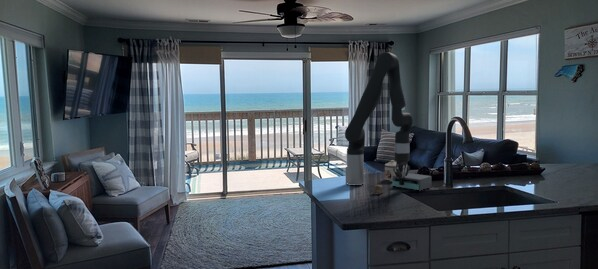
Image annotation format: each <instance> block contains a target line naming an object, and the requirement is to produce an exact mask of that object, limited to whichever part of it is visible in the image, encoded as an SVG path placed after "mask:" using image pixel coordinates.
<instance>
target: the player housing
mask: <svg viewBox="0 0 598 269" xmlns="http://www.w3.org/2000/svg"><path fill="white" fill-rule="evenodd" d="M404 179H405V180H413V181H418V184H419V191H418V192H422V191H424V190H423V189H425V190H428V189H430V187H431V188H433V187H432V175H425V174H418V173H417V174H416V173H410V172H408V174H407V176H405V178H404ZM393 181H399V178H398V177H396V175H395V176H393ZM427 188H428V189H427ZM407 190H409V188H408V189H407ZM421 190H422V191H421ZM413 191H416V189H414V190H413Z"/></svg>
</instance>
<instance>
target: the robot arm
mask: <svg viewBox="0 0 598 269" xmlns="http://www.w3.org/2000/svg"><path fill="white" fill-rule="evenodd" d="M399 60H400V59H399V57H397V55H396V54H394V53H392V52H388V51H383V52H381V53H379V55H378V57H377V59H376V61H375V64H374V68H373V70H372V72H371V75H370V78H369V80H368V81H367V84H366V87H365V89H364V91H363V93H362V96H361V97H360V99H359V101H358V104H357V107H356V108H355V112H354V114H353V117H352V118H351V120H350V121H349V124H348V125H347V127H346V129H345V131H344V137H345V140H346V141H347V142H348V147H347V149H346V167H345V184H346V183H348V184H363V183H364V184H365V168H364V167H365V162H364V161H365V160H364V158H365V157H364V153H365V152H364V151H365V147H366V146H365V145H366V133H365V128H364V126H365V125H366V122H367V121H368V119H369V118H370V116H371V115H372V114H373V112H374V111H375V109H376V107H377V106H378V103H379V101H380V99H381V96H382V91H383V83H384V79H385V77H386V75H387V77H388V82H389V88H388V94H389V99H390V104H391V122H392V124H393V125H394V126H395V127H397V128H400V129H399V130H397V131H396V132H395V134H394V136H395V137H394V139H395V140H394V159H393V160H394V162H396V168H394V169H393V170H394V172H395V175H396V177H398V178H399V185H404V178H405V176H407V174H408V173H410V169H411V166H410V165H408V163H409V161H410V159H411V158H410V153H411V152H410V151H411V150H410V149H411V148H410V147H411V146H410V134H411V131H412V127H413V123H414V120H413V116H412V115H411V113H409V112H403V108H406V103H407V102H406V98H405V95H404V91H403V87H402V86H403V85H402V80H401V74H400V71H401V69H400V61H399Z"/></svg>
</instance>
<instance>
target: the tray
mask: <svg viewBox="0 0 598 269" xmlns="http://www.w3.org/2000/svg"><path fill="white" fill-rule="evenodd" d="M404 181H405V179H404ZM391 183H392V184H391V187H393V186H397V187H403V188H409V189H416V190H419V184H418V181H417V184H413V183H406V182H404V185H399V181H391ZM403 188H402V189H403ZM409 189H408V190H409ZM416 190H415V191H416Z"/></svg>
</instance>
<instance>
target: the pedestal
mask: <svg viewBox="0 0 598 269" xmlns="http://www.w3.org/2000/svg"><path fill="white" fill-rule="evenodd" d="M373 191H374V192H373V194H374V193H378V194H380V195H382V194H383V185H382V184H375V185H374V186H373ZM381 193H382V194H381Z"/></svg>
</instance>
